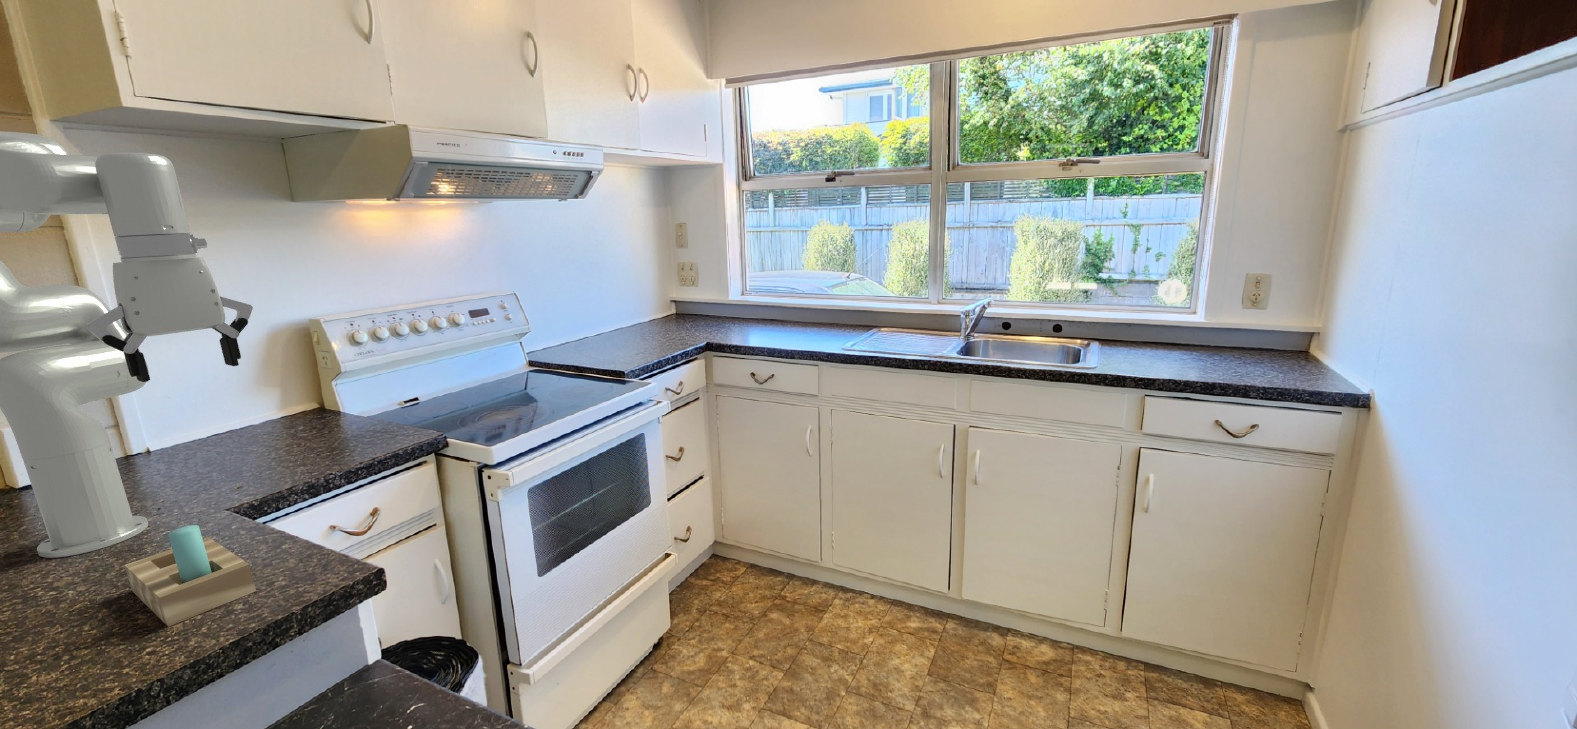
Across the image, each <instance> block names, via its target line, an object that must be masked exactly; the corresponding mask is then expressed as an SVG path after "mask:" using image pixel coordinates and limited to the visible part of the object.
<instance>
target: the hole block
mask: <svg viewBox="0 0 1577 729" xmlns="http://www.w3.org/2000/svg"><path fill="white" fill-rule="evenodd" d="M202 539H203V543H204V546H205V550H206V554H207V557H208V561H209V565H210V568H211V572H212V573H210V574H208V575H205V576H202V577H200V578H197V579H194V580H192V581H189V582H186V583H183V584H182V582H181V578H180V575H179V571H178V568H177V564H176V561H175V558H174V554H173V551H172V548H171V549H169V550H168V549H167V550H165V551H162V552H159V553H156V554H153V555H149V556H147V557H144V558H141V559H138V560H136V561H132V562H128V563H127V564H123V565H124V569H125V573H126V575H127V578H128V581H129V582H128V583H129V584H130V588H131V592H132V593H133V594H135V595H136V597H137V598H139V600H141V602H142V603H144V604H145V605H146V606H147V607H148V608H149V609H150V611H151V612H153V613H154V614H155V615H156V616H157V617H158V619H160V620H161V621H162V622H163V623H164V624H165V625H166V626H167V627H171V626H172V627H173V625H176V624H179V623H181V622H184V621H186V620H189V619H191V618H193V617H196V616H198V615H200V614H201V615H202V614H203V613H206V612H208V611H211V610H213V609H217V608H218V607H221V606H223V605H225V604H229V603H230V602H233V601H235V600H238V599H240V598H243V597H244V596H247V595H250V594H252V593H254V592H257V589H256V584H255V581H254V578H253V577H254V576H253V574H252V570H251V569H252V568H251V566H250V563H248V562H247V561H245V560H244V559H242V558H240V557H239V556H238V555H237V554H235V553H233V552H232V551H230V550H229V549H227V548H226V547H225V546H223V545H221V544H220V543H218V542H217V541H215V540H214V539H212V538H211V537H209V536H207V537H206V536H205V537H204V538H203V537H202Z"/></svg>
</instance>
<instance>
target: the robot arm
mask: <svg viewBox="0 0 1577 729" xmlns="http://www.w3.org/2000/svg"><path fill="white" fill-rule="evenodd" d="M96 214H97V215H99V214H100V215H108V218H109V222H110V226H111V229H112V234H113V236H114V240H115V244H116V247H117V251H118V255H119V258H120V262H118V261H117V262H113V263H112V278H113V279H112V280H113V285H114V286H113V287H114V294H115V298H116V305H117V306H116V307H114V308H113V309H110V308H109V307H108V305H107V304H106V303H105V302H104V301H103V299H102V298H101V297H99V296H98V295H97V294H96V293H94V292H93V291H91V290H90V289H88V288H86V287H83V286H79V285H74V284H56V285H54V284H53V285H43V286H28V285H23V283H22V284H21V282H19V280H17V278H16V277H15V276H14V274H13V273H12V271H11V270H10V268H8V266H7V265H6V264H5V263H4V262H3V261H2V260H0V354H1V353H10V352H11V353H12V352H15V353H12V354H9V355H6V356H4V357H2V358H0V410H1V411H2V413H3V416H4V417H5V418H6V421H7V422H8V424H9V427H10V429H11V432H12V434H13V436H14V439H15V441H16V444H17V447H18V450H19V453H20V456H21V459H22V461H23V464H24V466H25V470H26V473H27V475H28V478H29V482H30V484H31V488H32V491H33V495H34V497H35V500H36V503H37V506H38V509H39V512H40V515H41V518H42V521H43V524H44V527H45V530H46V533H47V536H48V538H46V539H45V540H44V541H42V542H40V543H39V545H38V546H37V548H36V551H37V554H38V556H39V557H42V558H49V559H53V558H54V559H55V558H57V559H58V558H67V557H70V556H71V557H72V556H77V555H81V554H85V553H86V554H87V553H90V552H94V551H97V550H98V551H99V550H102V549H104V548H108V547H111V546H114V545H117V544H118V543H122V542H125V541H127V540H129V539H131V538H133V537H135V536H137V535H138V534H140V533H142V532H144V531H145V530H146V529H147V528H148V526H149V522H148V518H146V516H143V515H133V514H132V511H131V510H132V509H131V507H130V504H129V501H128V497H127V494H126V490H125V487H124V484H123V481H122V478H121V477H122V476H121V474H120V470H119V468H118V464H117V460H116V457H115V453H114V451H113V448H112V447H113V446H112V444H111V440H110V436H109V434H108V431H107V429H106V428H105V426H104V425H103V424H102V423H101V422H100V421H99V420H97V419H96V418H95V417H92V416H91V415H89V414H88V413H85V412H84V411H82V410H81V409H80V408H79V406H80V405H81V406H82V405H84V404H88V403H92V402H97V401H99V400H101V401H102V400H104V399H105V400H106V399H110V398H114V397H118V396H122V395H123V396H124V395H126V394H130V393H133V392H136V391H137V390H139V389H141V388H143V387H144V385H145V384H147V383H148V382H149V381H151V376H150V373H149V368H148V367H149V366H148V364H147V361H146V358H145V355H144V353H143V352H141V350H140V349H139V347H140V346H141V345H142V343H143V342H144V340H145V339H146V338H147V337H153V336H154V337H156V336H162V335H169V334H177V333H178V334H179V333H185V332H186V333H187V332H192V331H200V330H207V329H212V330H214V331H216V332H217V333H218V334H220V335H221V337H220V339H219V345H220V348H221V352H222V356H223V361H224V364H225V365H227V366H231V367H238V366H239V359H241V358H242V355H241V351H240V347H239V343H238V338H239V336H240V335H241V333H242V331H243V330H245V328H246V327H247V326H248V323H249V319H250V317H251V315H252V311H253V309H254V308H253V305H251V304H249V303H245V302H241V301H238V300H235V299H230V298H227V297H223V296H220V292H219V291H218V289H217V285H216V283H215V280H214V278H213V276H212V273H211V270H210V269H209V267H208V265H207V262H206V261H205V259H204V257H202V256H200V257H199V256H197V253H198V251H199V250H201V249H207V248H208V242H207V240H206V238H198V237H195V236H194V234H191V231H190V226H189V222H188V218H187V214H186V210H185V205H184V201H183V197H182V193H181V189H180V186H179V182H178V178H177V173H176V170H175V167H174V164H173V162H172V161H171V160H170V159H169V158H167V157H166V156H164V155H161V154H157V153H148V152H110V153H104V154H101V155H99V156H93V155H79V154H76V155H75V154H69V152H68V151H67V150H66V148H64V147H63V146H62V145H61V144H60V143H59V142H57V141H56V140H54V139H52V138H50V137H47V136H44V135H41V134H38V133H29V132H15V131H3V130H2V131H1V130H0V234H3V233H4V234H7V233H24V232H26V233H27V232H31V231H33V230H36V229H38V228H40V227H41V226H43V224H45V222H47V221H48V219H49V218H50V216H52V215H54V216H55V215H96ZM224 308H227V309H230V310H235V311H236V315H235V316H236V317H235V318H234V319H233V320H232V322H231V323H230V324H228V323H226V314H225V309H224ZM119 320H120V321H119ZM19 351H20V352H19Z"/></svg>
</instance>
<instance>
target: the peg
mask: <svg viewBox="0 0 1577 729" xmlns="http://www.w3.org/2000/svg"><path fill="white" fill-rule="evenodd" d="M167 536H168V539H169V543H170V547H171V549H172V551H173V554H174V558H175V561H176V564H177V568H178V571H179V575H180V578H181V582H182V584H183V583H186V582H189V581H192V580H194V579H197V578H200V577H202V576H205V575H208V574H210V573H212V572H211V568H210V565H209V561H208V557H207V554H206V550H205V546H204V543H203V537H202V533H201V528H200V526H199V525H198V524H194V525H193V524H192V525H191V524H190V525H186V526H182V527H179V528H175V529H174V530H172V531H170V532H168V534H167Z"/></svg>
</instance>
